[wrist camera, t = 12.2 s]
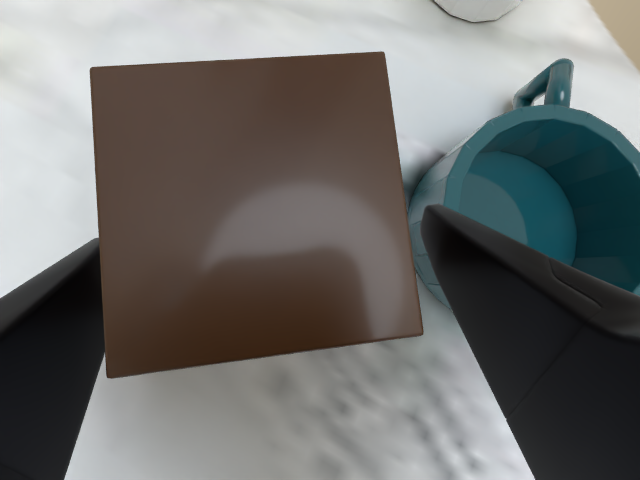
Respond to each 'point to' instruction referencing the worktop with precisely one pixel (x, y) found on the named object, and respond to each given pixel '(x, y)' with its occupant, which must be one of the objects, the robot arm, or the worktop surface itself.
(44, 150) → the worktop surface
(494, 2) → the white cup
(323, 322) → the block
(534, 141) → the teal mug
